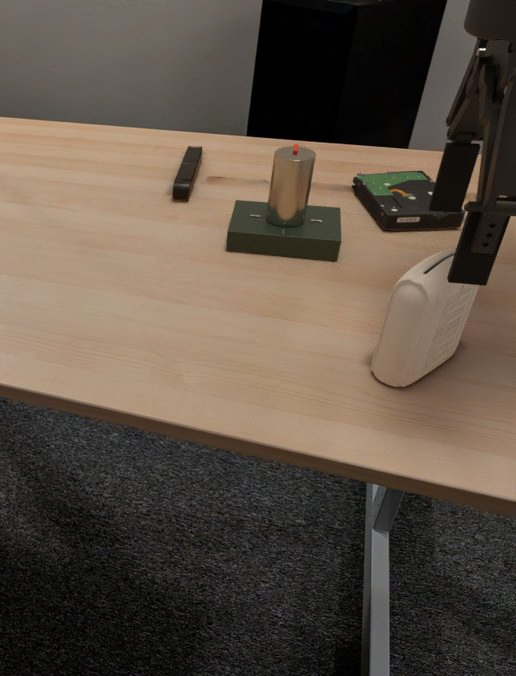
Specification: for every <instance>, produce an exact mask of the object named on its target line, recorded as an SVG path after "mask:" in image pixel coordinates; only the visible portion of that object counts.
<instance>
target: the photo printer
mask: <svg viewBox="0 0 516 676" xmlns="http://www.w3.org/2000/svg"><path fill="white" fill-rule="evenodd" d="M456 248H457V246H456V247H450V248H446V249H443V250H441V251H438V252H434V253H433V254H431V255H429V256H427V257H425V258H424V259H422V260H421V261H419V262H417V263H416V264H414V265H413V266H412V267H411V268H410V269H409V270H407V271H406V272H405V273H404V274H403V275H402V276H401V277H400V278H398V280H397V281H396V283H395V284H394V286H393V288H392V290H391V292H390V295H389V300H388V303H387V307H386V311H385V314H384V318H383V321H382V324H381V327H380V331H379V335H378V338H377V343H376V346H375V350H374V353H373V357H372V360H371V365H370V370H371V371H372V372H373V375H374V377H375V378H376V379H377V380H378V381H380V382H382V383H383V384H385V385H388V386H391V387H396V388H398V387H401V388H404V387H407V386H409V385H412V384H413V383H415V382H416V381H418V380H420V379H422V378H423V377H424V376H426V375H427V374H428V373H429V374H430V373H431V372H432V371H433V370H435V369H437V368H438V367H439V366H440V365H442V364H444V363H445V362H446V361H447V360H448V359H450V358H451V357H453V355H454V353H455V352H456V350H457V348H458V345H459V343H460V340H461V337H462V335H463V332H464V329H465V326H466V324H467V321H468V318H469V315H470V313H471V310H472V307H473V305H474V302H475V299H476V296H477V294H478V290H479V289H480V285H471V284H460V283H448V279H447V277H448V273H449V270H450V267H451V264H452V261H453V257H454V254H455V251H456Z"/></svg>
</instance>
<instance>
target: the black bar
mask: <svg viewBox="0 0 516 676" xmlns="http://www.w3.org/2000/svg"><path fill="white" fill-rule="evenodd" d="M202 160H203V146H197V145H188V146H187V147H186V151H185V153H184V155H183V158H182V161H181V163H180V165H179V168H178V170H177V173H176V176H175V178H174V181H173V185H172V193H171V194H172V197H171V198H172V200H180V201H189V200H190V198H191V194H192V192H193V189H194V185H195V182H196V179H197V177H198V173H199V170H200V167H201V165H202V162H203V161H202Z"/></svg>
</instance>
